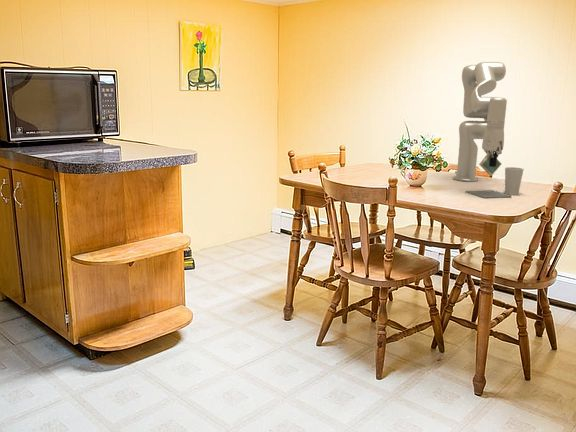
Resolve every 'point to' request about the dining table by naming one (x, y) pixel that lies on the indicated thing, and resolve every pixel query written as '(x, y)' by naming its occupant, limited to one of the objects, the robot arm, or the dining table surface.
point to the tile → (486, 162)
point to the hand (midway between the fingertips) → (491, 165)
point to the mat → (488, 194)
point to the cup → (513, 180)
